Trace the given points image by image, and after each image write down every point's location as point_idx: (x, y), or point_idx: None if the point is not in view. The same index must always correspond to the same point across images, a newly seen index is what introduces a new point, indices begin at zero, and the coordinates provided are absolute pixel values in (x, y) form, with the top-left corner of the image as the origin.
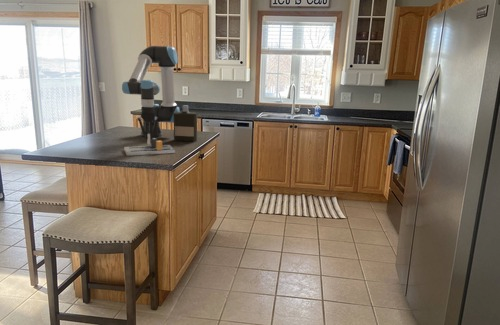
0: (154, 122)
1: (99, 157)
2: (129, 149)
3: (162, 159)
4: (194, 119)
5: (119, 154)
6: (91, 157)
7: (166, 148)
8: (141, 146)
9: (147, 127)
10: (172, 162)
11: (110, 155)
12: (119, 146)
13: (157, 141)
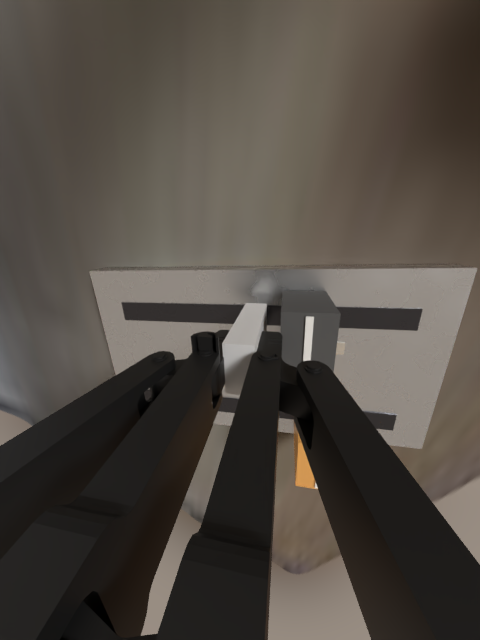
0: (407, 615)
1: (33, 391)
2: (131, 354)
3: (290, 507)
4: None
5: (99, 365)
6: (4, 381)
7: (377, 395)
8: (205, 282)
9: (191, 478)
10: (319, 553)
11: (65, 371)
12: (51, 115)
13: (304, 469)
